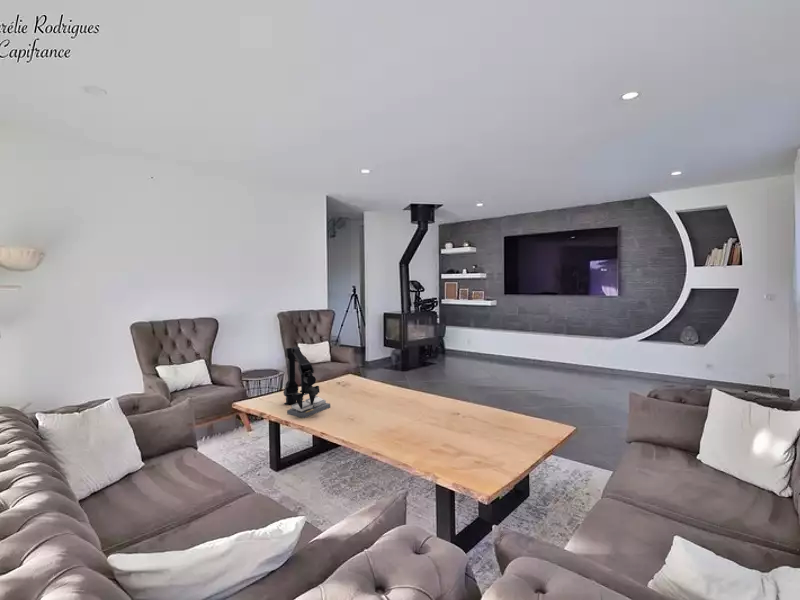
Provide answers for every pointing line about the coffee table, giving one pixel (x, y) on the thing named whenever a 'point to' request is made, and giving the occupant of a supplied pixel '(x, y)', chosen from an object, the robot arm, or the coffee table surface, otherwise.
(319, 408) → the switch unit
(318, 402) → the rocker
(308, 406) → the grey flat slab
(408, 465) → the coffee table surface
